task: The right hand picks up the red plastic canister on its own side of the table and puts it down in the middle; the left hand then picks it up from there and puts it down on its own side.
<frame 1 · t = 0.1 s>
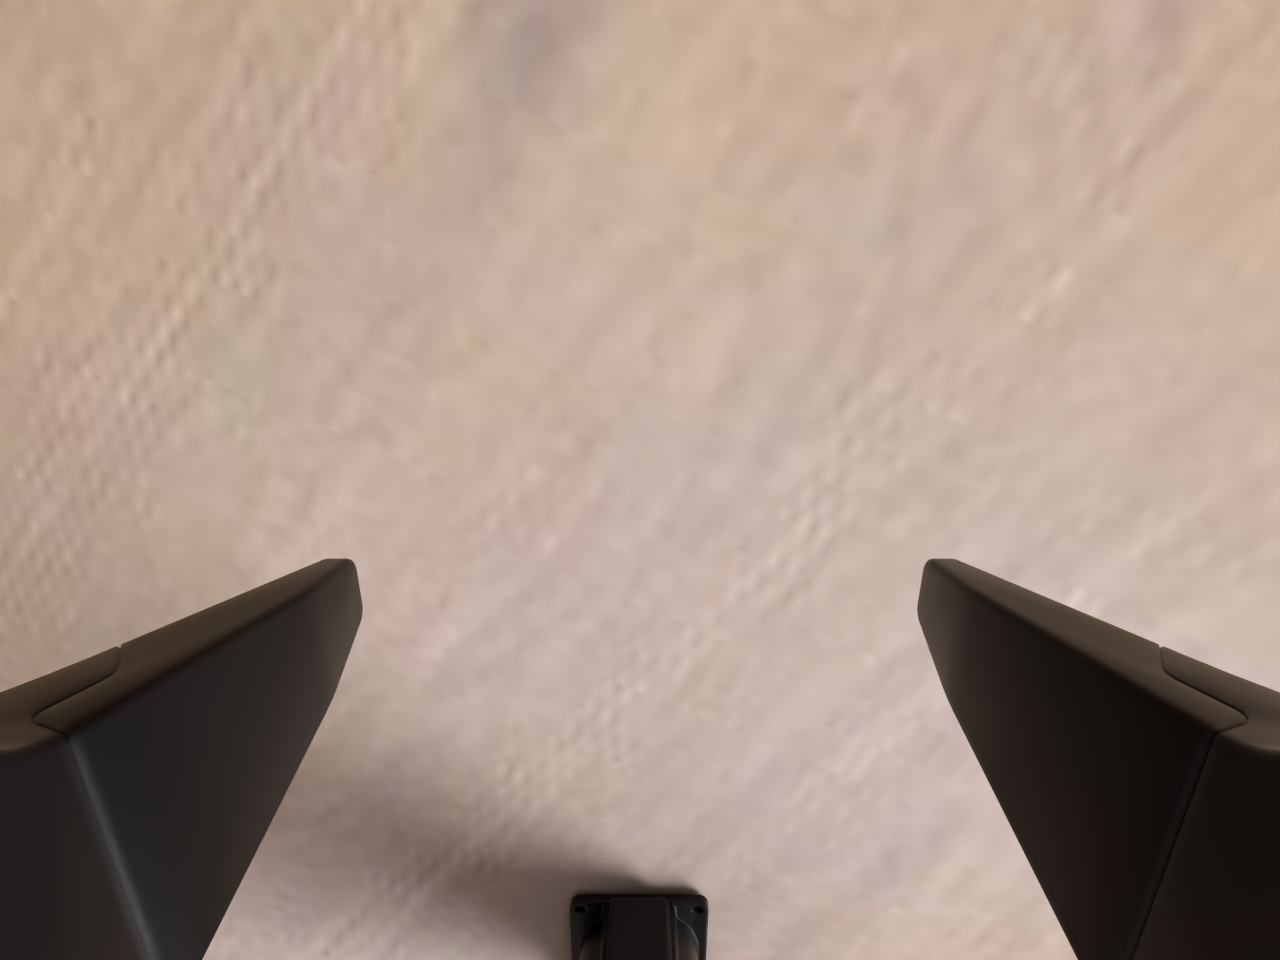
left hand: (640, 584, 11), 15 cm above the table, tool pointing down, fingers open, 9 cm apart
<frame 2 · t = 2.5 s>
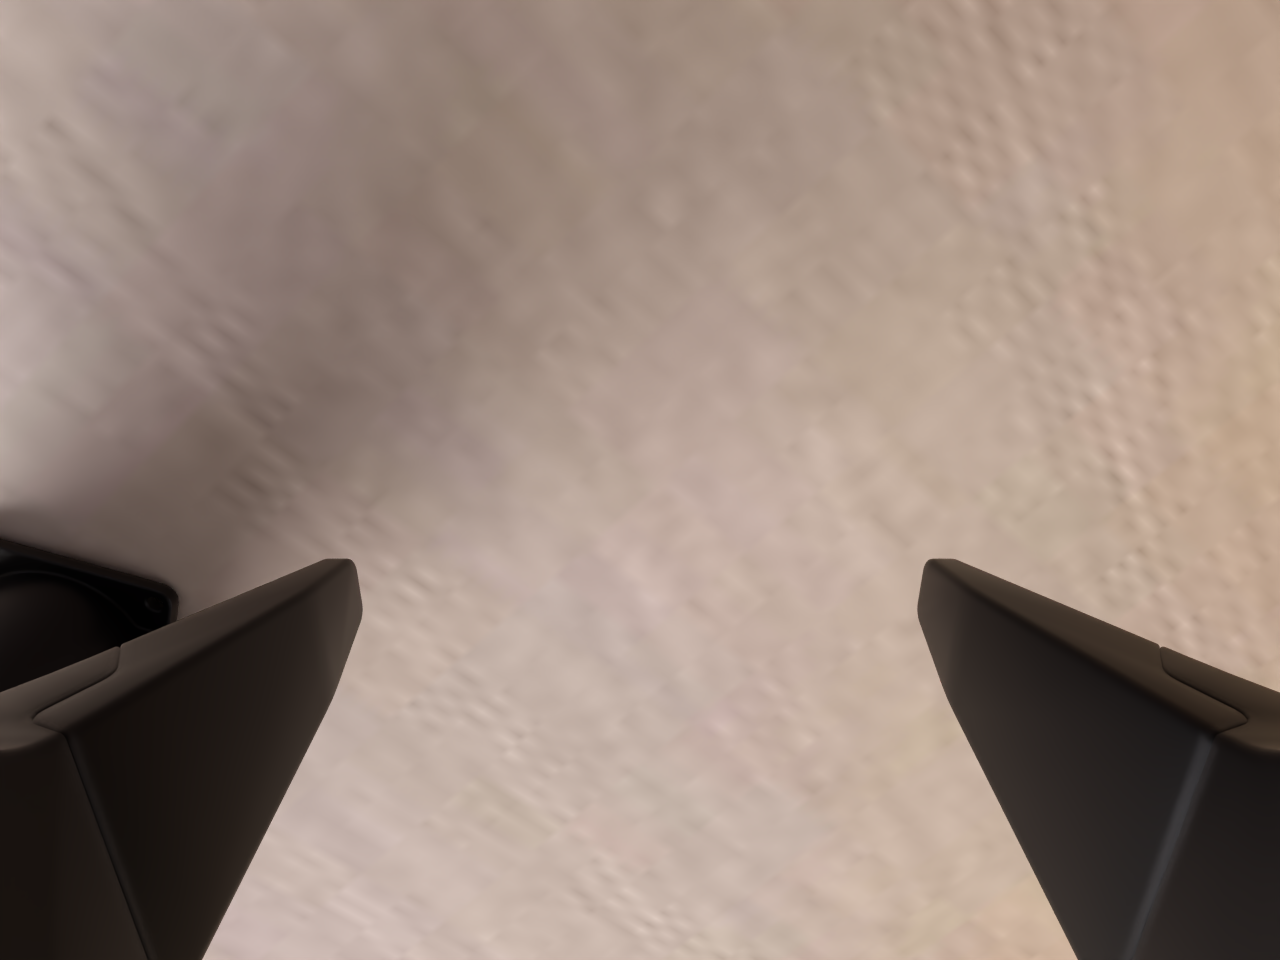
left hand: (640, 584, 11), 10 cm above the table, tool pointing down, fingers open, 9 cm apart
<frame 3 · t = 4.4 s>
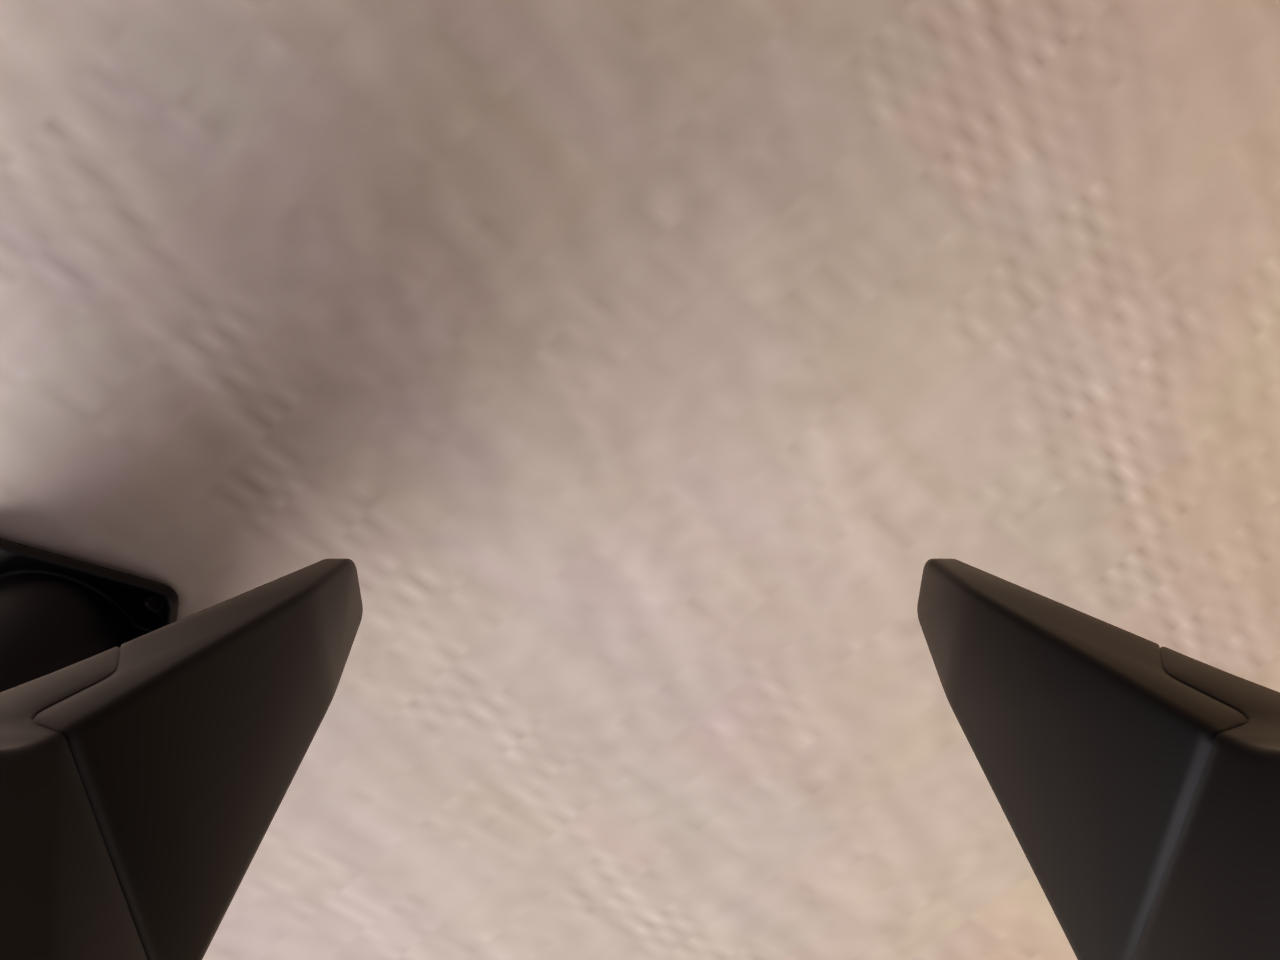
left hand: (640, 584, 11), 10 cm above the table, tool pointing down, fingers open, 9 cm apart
when the right hand's fingers open (3 cm above the table, at t = 6.7 s): canister drops 1 cm, on the table.
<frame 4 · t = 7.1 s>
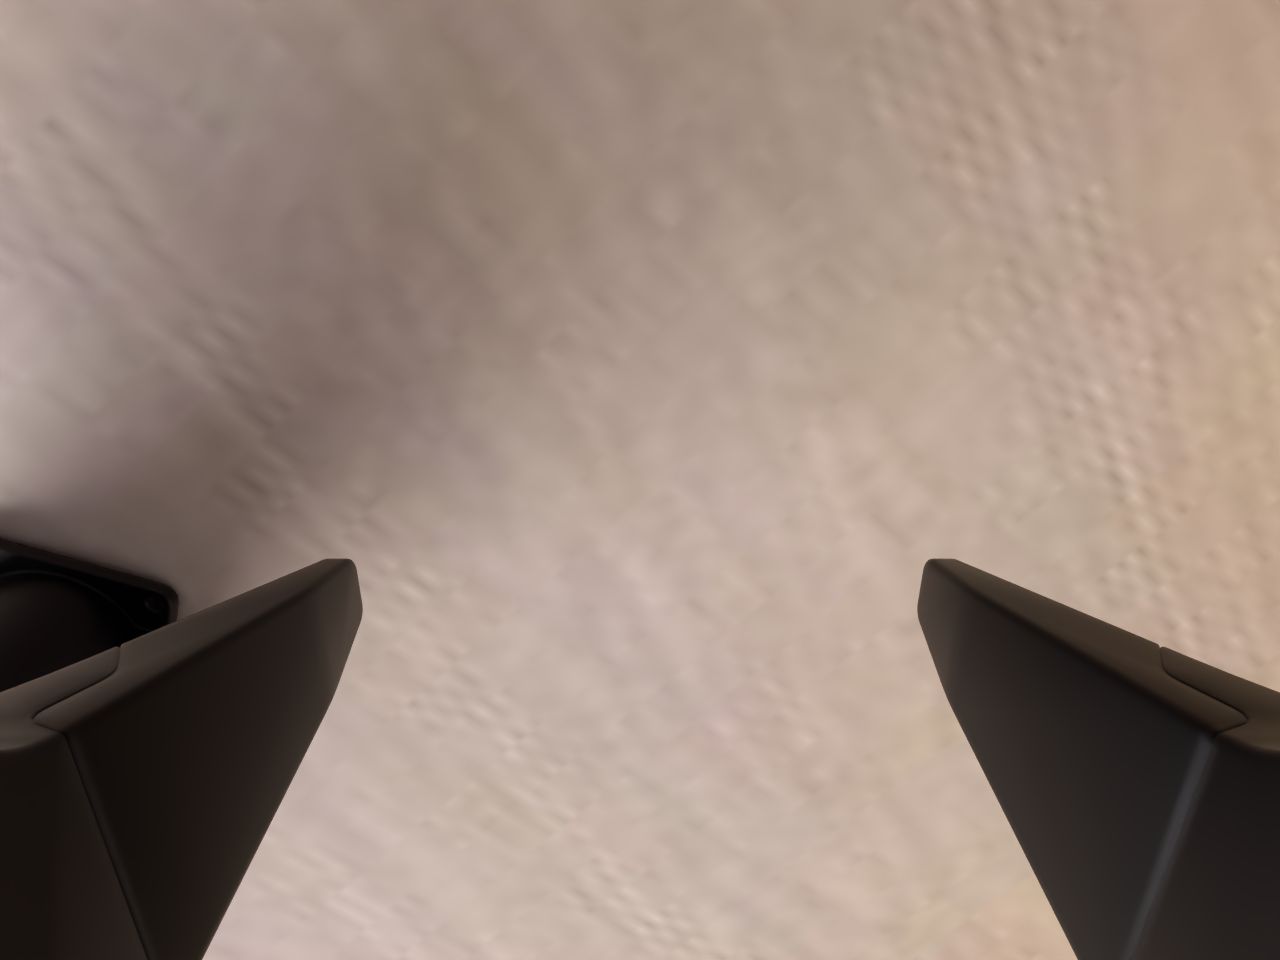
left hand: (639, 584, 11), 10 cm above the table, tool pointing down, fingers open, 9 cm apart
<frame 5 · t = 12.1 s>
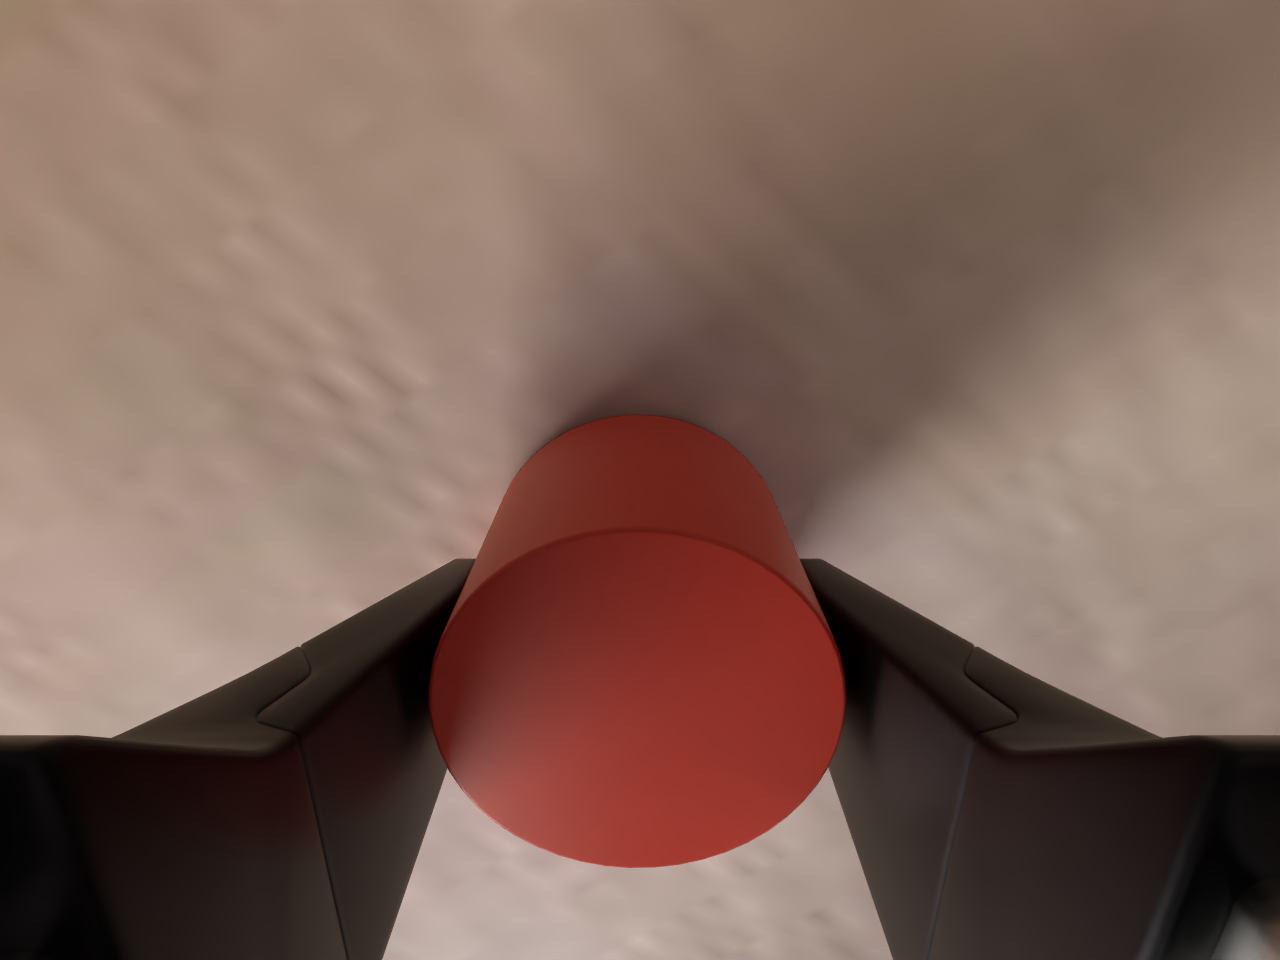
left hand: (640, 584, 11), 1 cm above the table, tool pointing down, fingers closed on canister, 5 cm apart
canister: (638, 551, 12), on the table, touching left hand
when the left hand's fingers open (2 cm above the table, at t = 16.5 s): canister drops 1 cm, on the table.
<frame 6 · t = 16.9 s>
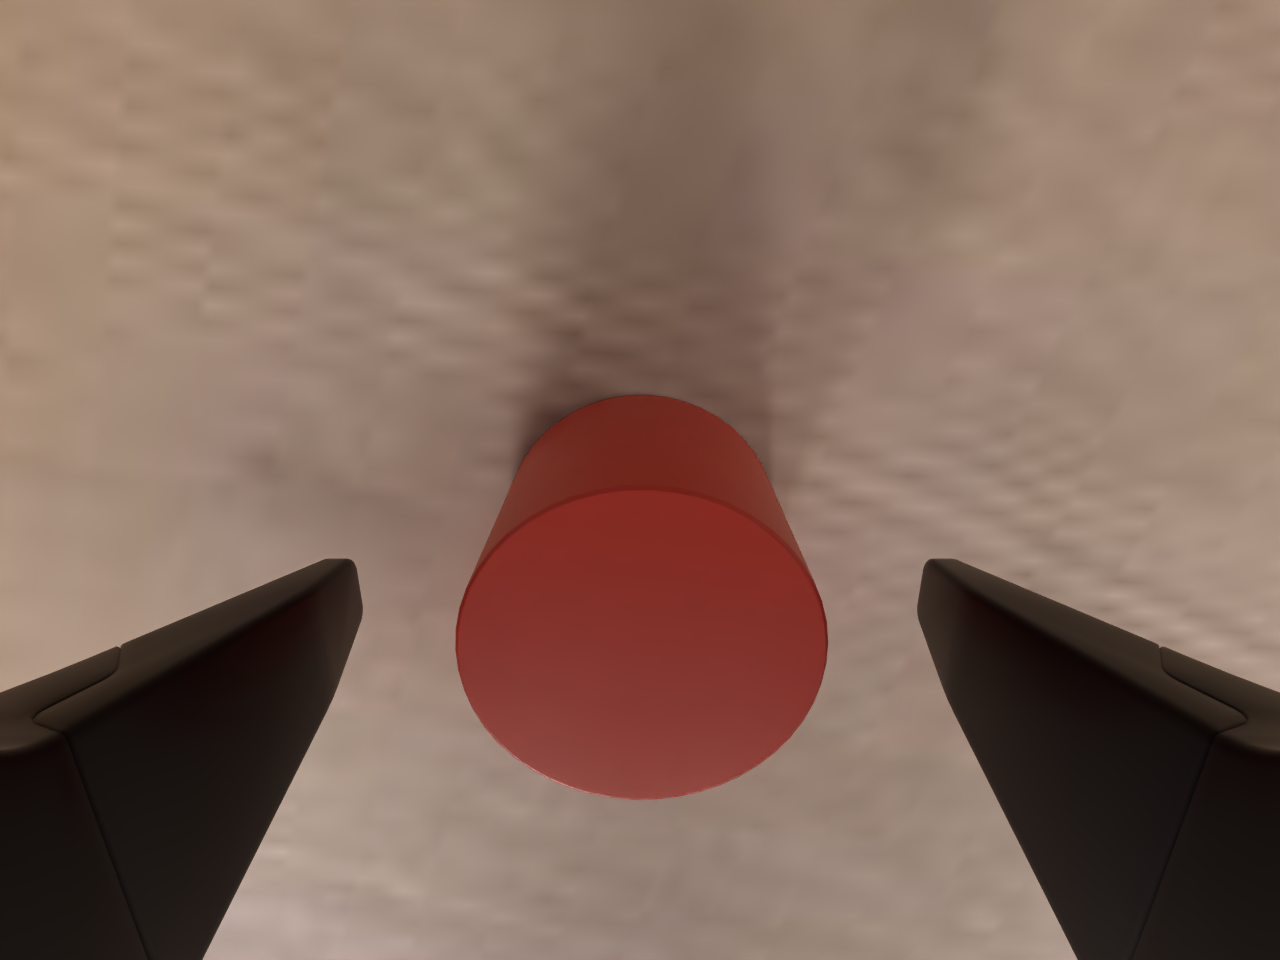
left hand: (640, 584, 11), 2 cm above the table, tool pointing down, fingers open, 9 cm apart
canister: (641, 522, 13), on the table
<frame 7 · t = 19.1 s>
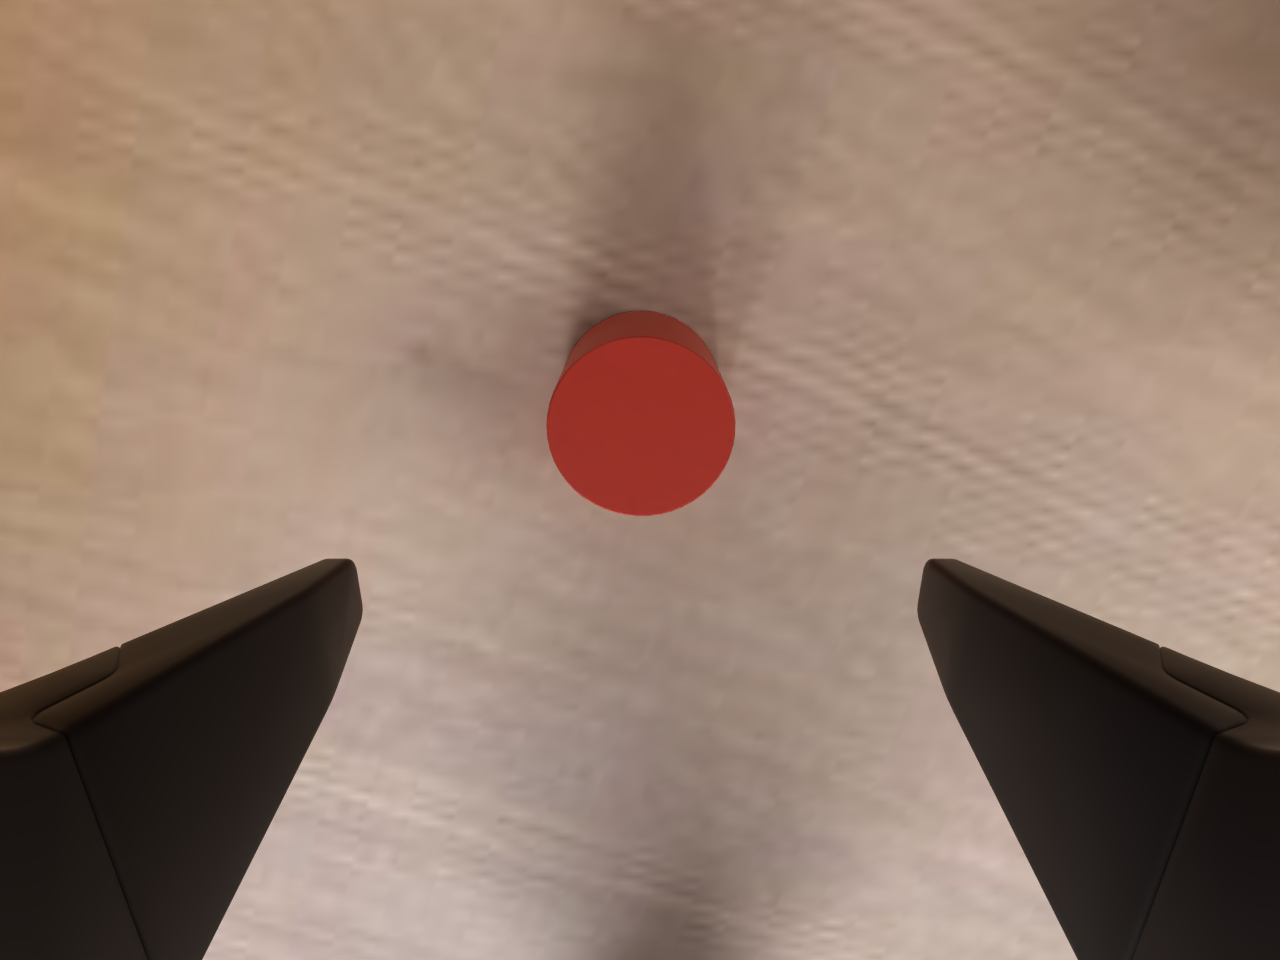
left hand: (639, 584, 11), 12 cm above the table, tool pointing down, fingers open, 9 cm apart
canister: (640, 389, 22), on the table
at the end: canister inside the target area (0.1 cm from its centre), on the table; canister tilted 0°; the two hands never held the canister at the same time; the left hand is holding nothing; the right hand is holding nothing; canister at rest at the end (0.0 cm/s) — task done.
